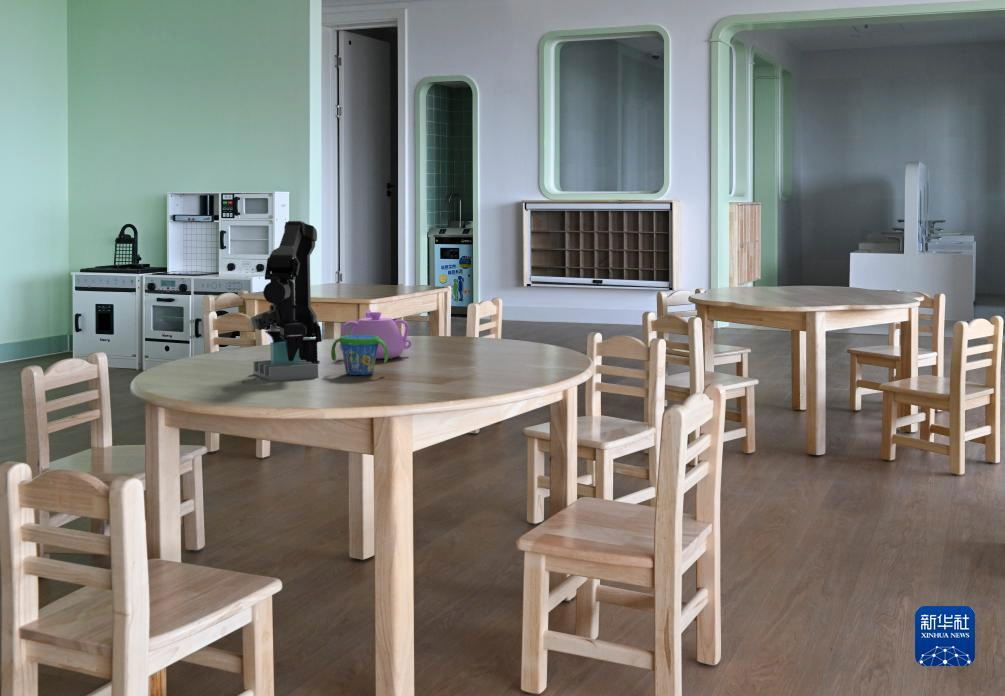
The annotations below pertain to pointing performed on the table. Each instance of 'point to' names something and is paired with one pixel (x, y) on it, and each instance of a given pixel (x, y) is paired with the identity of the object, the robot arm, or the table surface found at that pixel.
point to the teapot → (381, 333)
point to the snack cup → (359, 353)
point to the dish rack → (285, 370)
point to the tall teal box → (281, 354)
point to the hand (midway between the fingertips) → (285, 359)
